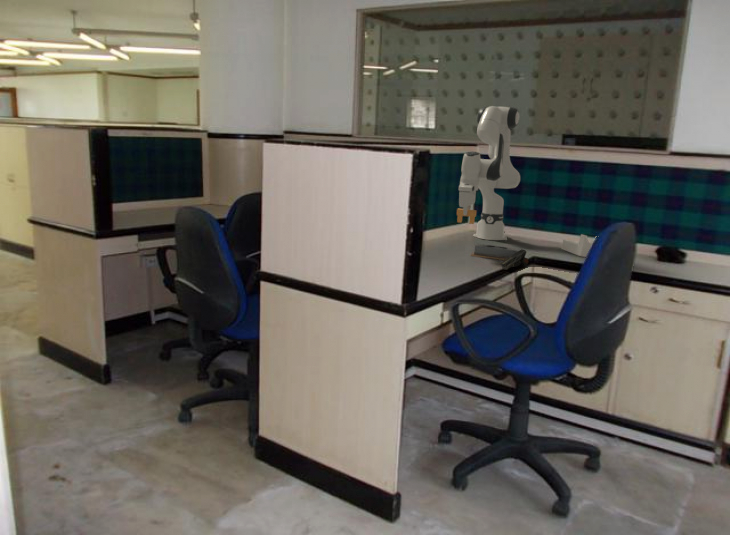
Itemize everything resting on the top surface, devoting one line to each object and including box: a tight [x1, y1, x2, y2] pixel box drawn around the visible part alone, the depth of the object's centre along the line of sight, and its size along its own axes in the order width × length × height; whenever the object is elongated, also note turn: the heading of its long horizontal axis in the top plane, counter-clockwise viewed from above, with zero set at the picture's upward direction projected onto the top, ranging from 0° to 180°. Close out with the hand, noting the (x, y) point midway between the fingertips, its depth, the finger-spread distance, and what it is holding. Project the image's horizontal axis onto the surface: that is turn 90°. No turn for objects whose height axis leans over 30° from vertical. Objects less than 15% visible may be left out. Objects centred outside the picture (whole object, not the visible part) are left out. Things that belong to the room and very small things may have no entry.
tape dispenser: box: [560, 233, 597, 258], centre depth 313 cm, size 18×10×10 cm, turn 13°
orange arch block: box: [456, 207, 477, 225], centre depth 299 cm, size 3×9×6 cm, turn 69°
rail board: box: [470, 243, 520, 261], centre depth 292 cm, size 12×22×5 cm, turn 69°
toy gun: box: [501, 249, 529, 271], centre depth 270 cm, size 2×16×10 cm, turn 130°
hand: (466, 214), depth 299 cm, fingers closed on orange arch block, 3 cm apart
